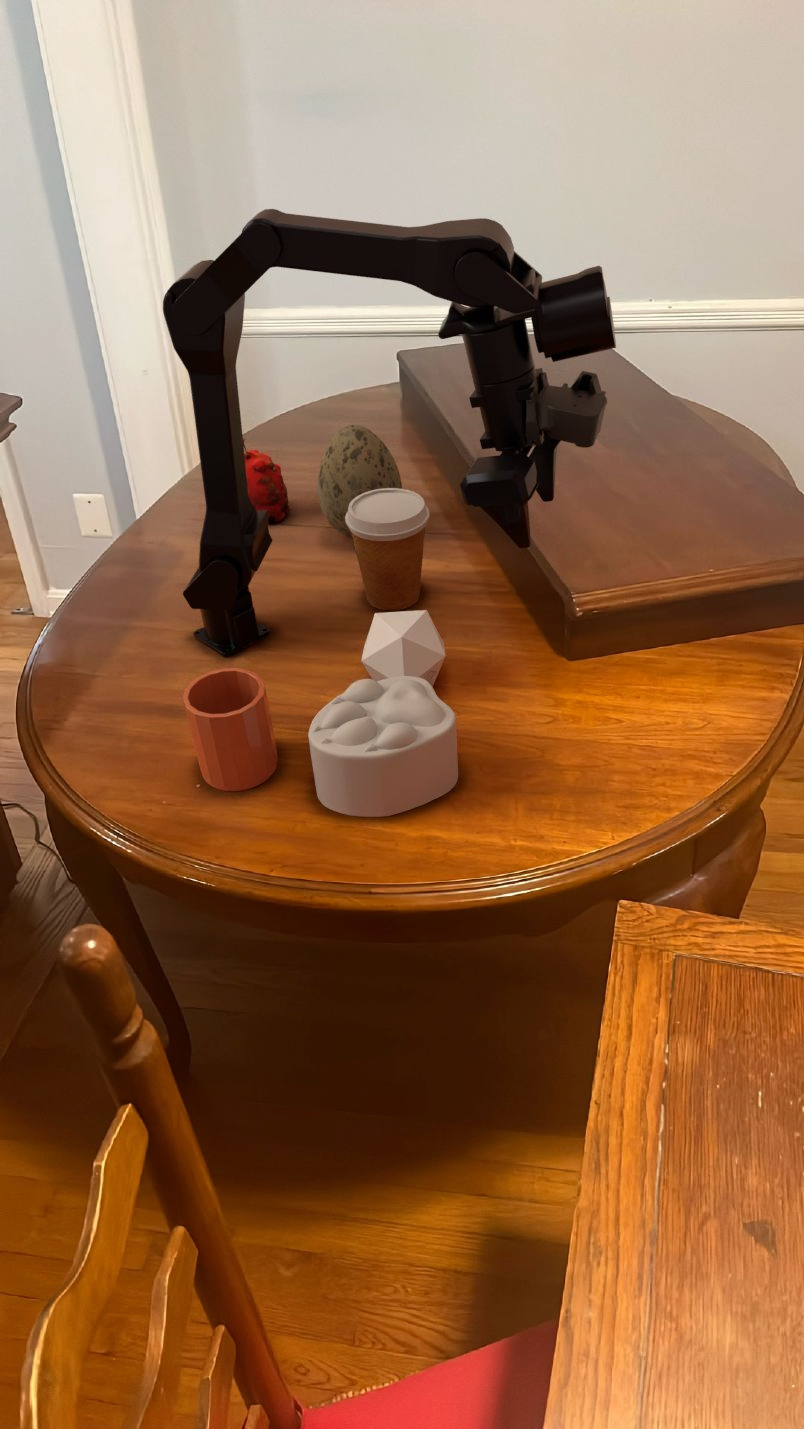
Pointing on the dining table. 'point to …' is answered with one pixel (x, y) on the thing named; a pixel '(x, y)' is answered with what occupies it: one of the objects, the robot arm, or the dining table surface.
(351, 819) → the dining table surface
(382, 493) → the disposable coffee cup
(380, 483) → the decorative egg
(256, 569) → the robot arm
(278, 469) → the red bumpy tall lump
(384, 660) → the die
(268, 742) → the terracotta cup
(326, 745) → the lumpy-topped squat cylinder
